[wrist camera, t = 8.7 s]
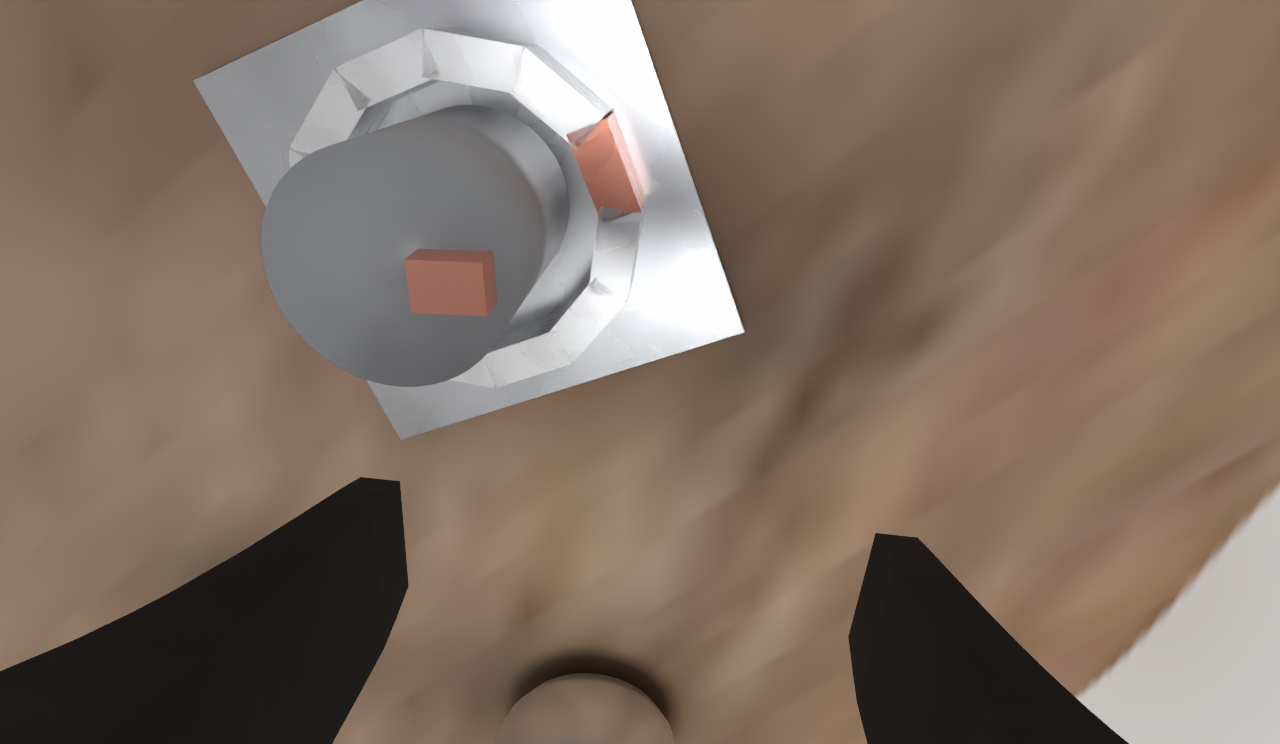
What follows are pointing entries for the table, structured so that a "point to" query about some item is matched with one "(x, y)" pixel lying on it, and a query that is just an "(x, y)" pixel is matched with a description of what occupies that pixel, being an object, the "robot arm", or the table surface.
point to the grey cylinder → (414, 242)
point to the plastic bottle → (585, 714)
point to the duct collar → (574, 132)
